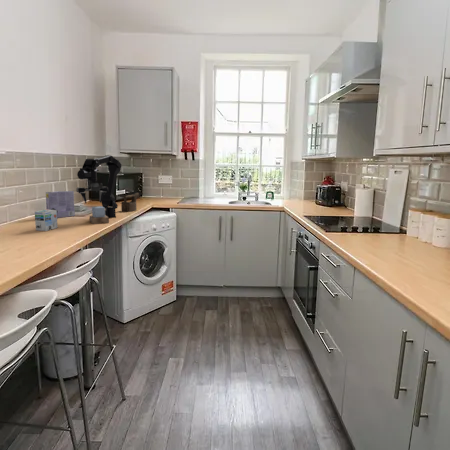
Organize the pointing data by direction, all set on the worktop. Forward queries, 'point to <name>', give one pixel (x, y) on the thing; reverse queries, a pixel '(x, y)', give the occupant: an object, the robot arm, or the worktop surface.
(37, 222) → the light bulb box
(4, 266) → the worktop surface
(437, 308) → the worktop surface
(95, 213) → the slate-blue cube
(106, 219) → the walnut block
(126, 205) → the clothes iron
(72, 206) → the cake pan box
